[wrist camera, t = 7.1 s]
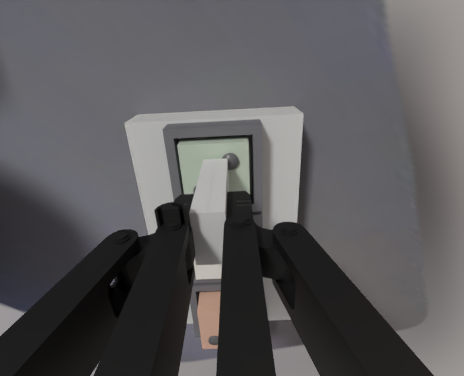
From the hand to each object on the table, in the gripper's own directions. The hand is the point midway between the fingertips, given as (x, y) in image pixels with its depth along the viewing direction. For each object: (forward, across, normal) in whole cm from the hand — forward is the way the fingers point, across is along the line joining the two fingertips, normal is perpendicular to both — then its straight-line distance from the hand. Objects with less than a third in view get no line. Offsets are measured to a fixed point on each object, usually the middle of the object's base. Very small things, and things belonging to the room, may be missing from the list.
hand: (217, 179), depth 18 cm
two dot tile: (+2, 0, 0) cm, 2 cm away
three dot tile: (+1, 0, -13) cm, 13 cm away
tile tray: (+6, 0, -6) cm, 9 cm away
